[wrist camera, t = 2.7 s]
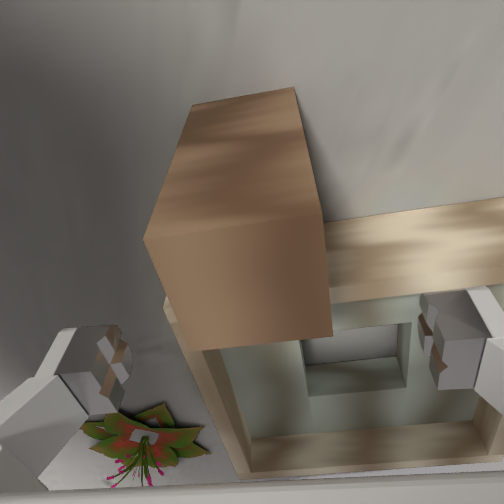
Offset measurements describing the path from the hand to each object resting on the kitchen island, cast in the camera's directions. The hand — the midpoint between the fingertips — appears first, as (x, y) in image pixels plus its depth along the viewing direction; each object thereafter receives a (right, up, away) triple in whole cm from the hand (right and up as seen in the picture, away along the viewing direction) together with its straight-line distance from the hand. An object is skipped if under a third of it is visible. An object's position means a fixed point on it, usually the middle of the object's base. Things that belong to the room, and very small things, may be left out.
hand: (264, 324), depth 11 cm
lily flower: (-10, -14, +26) cm, 31 cm away
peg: (0, +7, +8) cm, 11 cm away
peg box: (+6, -3, +16) cm, 18 cm away
